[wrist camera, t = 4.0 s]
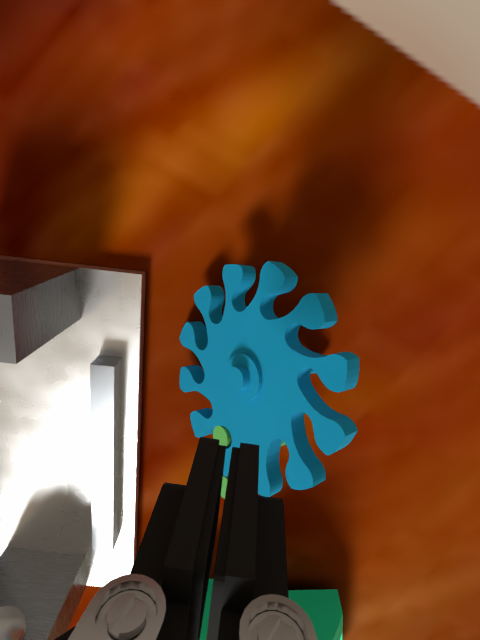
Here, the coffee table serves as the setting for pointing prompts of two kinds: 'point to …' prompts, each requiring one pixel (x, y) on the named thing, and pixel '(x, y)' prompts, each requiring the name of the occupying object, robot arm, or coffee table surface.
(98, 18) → the coffee table surface
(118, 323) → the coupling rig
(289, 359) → the gear
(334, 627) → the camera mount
